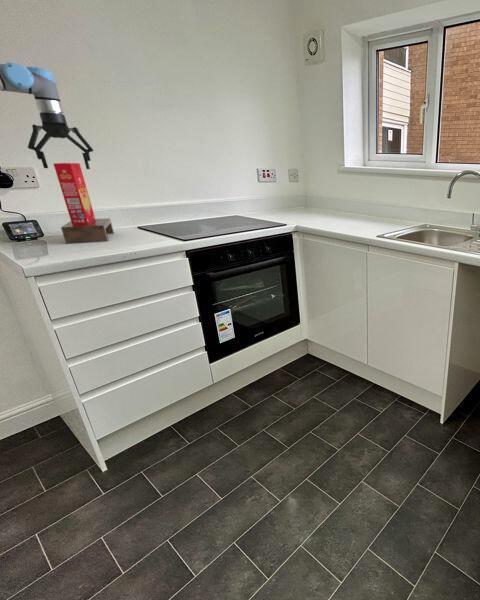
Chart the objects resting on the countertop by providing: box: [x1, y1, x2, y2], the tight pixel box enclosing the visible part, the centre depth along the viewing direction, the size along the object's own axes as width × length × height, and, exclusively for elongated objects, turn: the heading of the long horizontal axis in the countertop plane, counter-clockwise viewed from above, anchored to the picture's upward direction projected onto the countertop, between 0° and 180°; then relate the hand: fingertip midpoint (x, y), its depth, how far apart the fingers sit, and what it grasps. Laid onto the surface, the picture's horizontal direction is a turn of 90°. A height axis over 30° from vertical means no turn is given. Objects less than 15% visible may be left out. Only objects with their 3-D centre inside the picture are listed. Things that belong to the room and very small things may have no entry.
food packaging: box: [53, 162, 96, 225], centre depth 153 cm, size 15×5×25 cm, turn 29°
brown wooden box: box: [60, 217, 115, 245], centre depth 160 cm, size 14×22×7 cm, turn 31°
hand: (67, 168), depth 149 cm, fingers open, 13 cm apart
